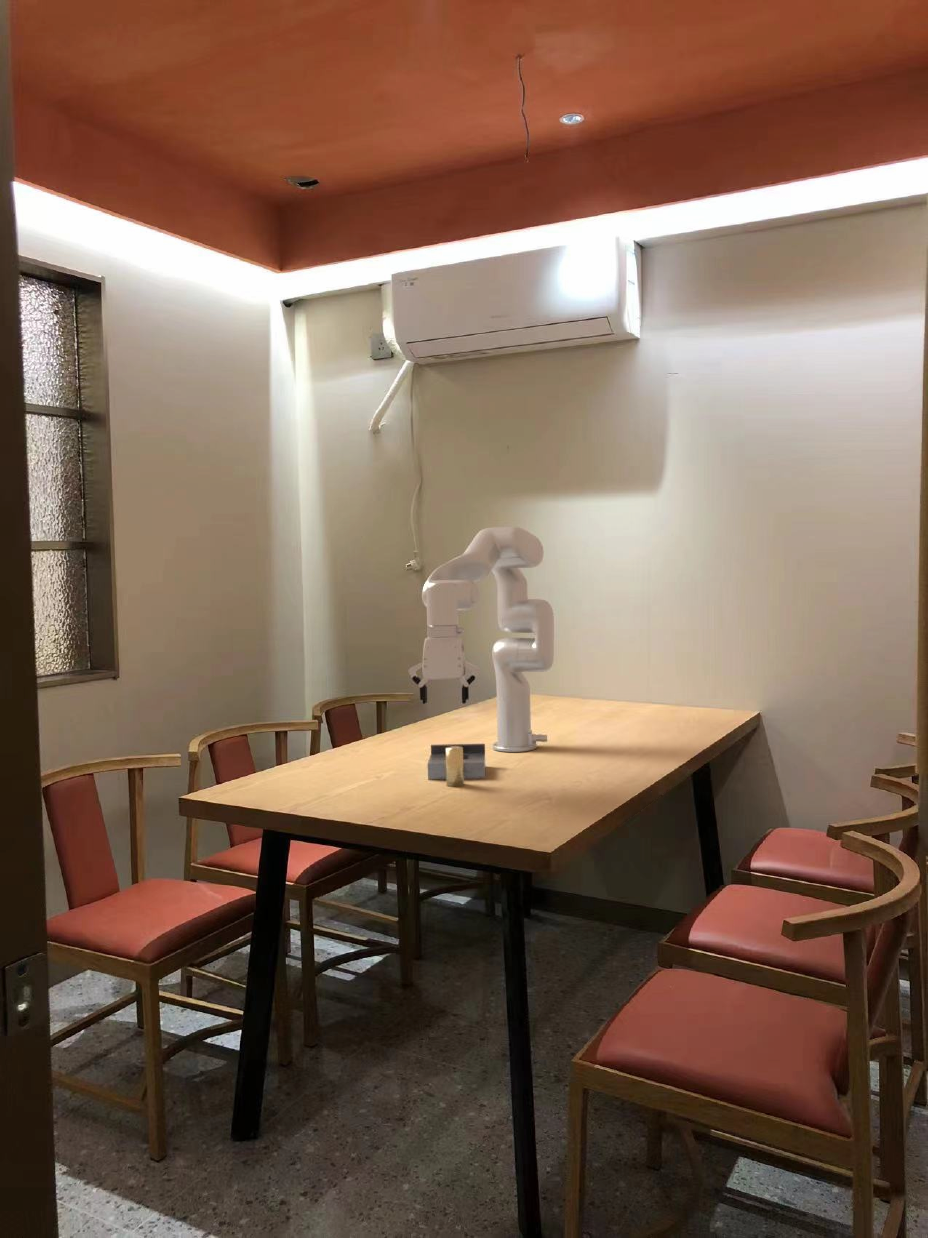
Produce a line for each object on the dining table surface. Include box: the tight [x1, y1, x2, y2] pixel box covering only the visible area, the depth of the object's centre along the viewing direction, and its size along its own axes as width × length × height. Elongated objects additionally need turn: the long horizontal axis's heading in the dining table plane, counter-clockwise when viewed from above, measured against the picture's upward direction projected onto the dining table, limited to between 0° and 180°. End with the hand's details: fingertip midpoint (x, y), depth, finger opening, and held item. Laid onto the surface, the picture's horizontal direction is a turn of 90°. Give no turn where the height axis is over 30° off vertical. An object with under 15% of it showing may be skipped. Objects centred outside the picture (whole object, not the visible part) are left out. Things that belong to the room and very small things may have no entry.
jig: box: [427, 743, 486, 781], centre depth 247 cm, size 14×14×6 cm
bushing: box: [445, 746, 465, 788], centre depth 234 cm, size 4×4×9 cm
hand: (444, 702), depth 236 cm, fingers open, 9 cm apart
